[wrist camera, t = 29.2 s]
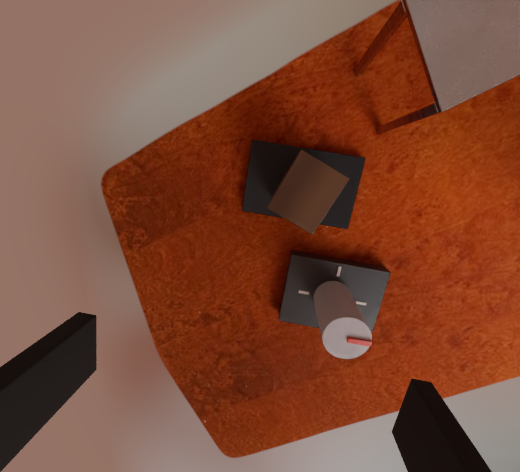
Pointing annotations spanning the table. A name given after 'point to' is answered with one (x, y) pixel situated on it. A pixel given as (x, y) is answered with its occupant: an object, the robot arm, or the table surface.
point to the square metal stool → (455, 48)
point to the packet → (307, 191)
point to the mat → (275, 167)
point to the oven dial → (341, 321)
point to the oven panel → (323, 270)
